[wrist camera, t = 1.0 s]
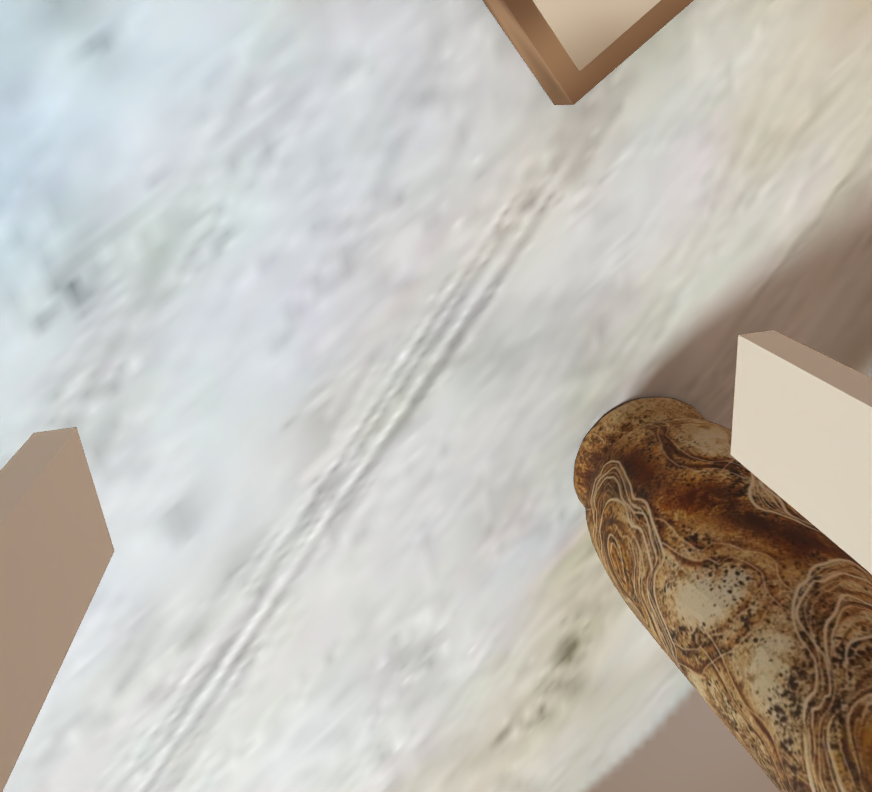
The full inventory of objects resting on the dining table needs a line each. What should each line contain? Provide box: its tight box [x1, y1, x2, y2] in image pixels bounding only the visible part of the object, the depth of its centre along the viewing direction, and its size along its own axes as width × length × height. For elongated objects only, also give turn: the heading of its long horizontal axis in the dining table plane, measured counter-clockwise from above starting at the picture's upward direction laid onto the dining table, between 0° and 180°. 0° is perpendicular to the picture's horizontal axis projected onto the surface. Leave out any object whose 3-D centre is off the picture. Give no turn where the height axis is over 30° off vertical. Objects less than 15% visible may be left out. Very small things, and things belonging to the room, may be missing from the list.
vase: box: [574, 397, 872, 792], centre depth 31 cm, size 10×11×30 cm
